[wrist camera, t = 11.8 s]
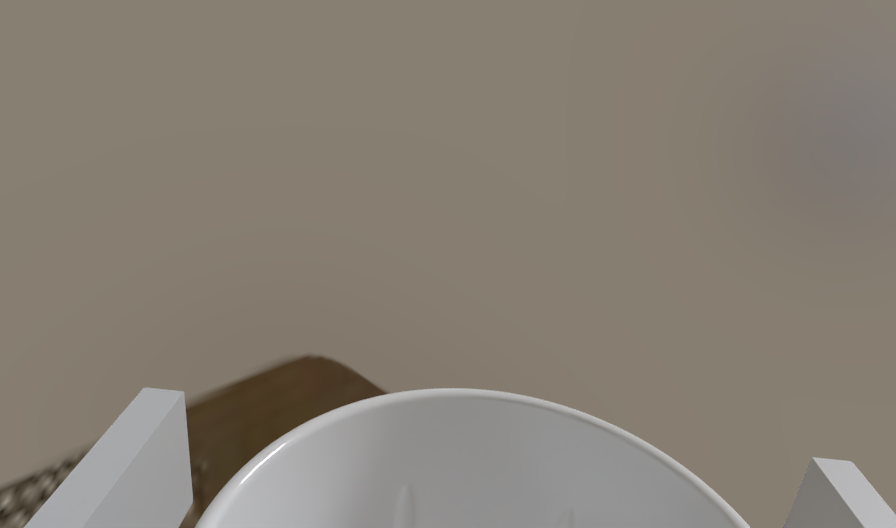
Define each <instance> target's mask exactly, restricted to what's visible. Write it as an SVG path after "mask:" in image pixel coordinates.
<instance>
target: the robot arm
mask: <svg viewBox="0 0 896 528" xmlns="http://www.w3.org/2000/svg"><path fill="white" fill-rule="evenodd" d="M192 503H193V494H192V482H191V470H190V458H189V446H188V434H187V422H186V410H185V398H184V392H183V391H173V390H164V389H155V388H143V389H142V391H141V392H140V393H139V394H138V395H137V397H136V398H135V399H134V400H133V401H132V402H131V403H130V405H129V406H128V407H127V408H126V409H125V410H124V412H123V413H122V414H121V415H120V416H119V417H118V419H117V420H116V421H115V422H114V423H113V424H112V426H111V427H110V428H109V429H108V430H107V431H106V433H105V434H104V435H103V436H102V437H101V438H100V440H99V441H98V442H97V443H96V444H95V445H94V447H93V448H92V449H91V450H90V451H89V452H88V453H87V455H86V456H85V457H84V458H83V459H82V460H81V462H80V463H79V464H78V465H77V466H76V467H75V469H74V470H73V471H72V472H71V473H70V474H69V476H68V477H67V478H66V479H65V480H64V481H63V483H62V484H61V485H60V486H59V487H58V488H57V490H56V491H55V492H54V493H53V494H52V495H51V497H50V498H49V499H48V500H47V501H46V502H45V504H44V505H43V506H42V507H41V508H40V509H39V511H38V512H37V513H36V514H35V515H34V516H33V518H32V519H31V520H30V521H29V522H28V523H27V525H26V526H25V527H24V528H179V526H180V524H181V522H182V520H183V519H184V517H185V515H186V513H187V512H188V510H189V508H190V506H191V505H192ZM783 528H896V515H895V513H894V512H893V511H892V510H891V509H890V507H889V506H888V505H887V504H886V503H885V501H884V500H883V499H882V498H881V497H880V495H879V494H878V493H877V492H876V490H875V489H874V488H873V487H872V485H871V484H870V483H869V482H868V481H867V479H866V478H865V477H864V476H863V475H862V473H861V472H860V471H859V470H858V469H857V467H856V466H855V465H854V464H853V462H852V461H843V460H834V459H824V458H814V457H812V459H811V461H810V463H809V466H808V468H807V471H806V473H805V476H804V478H803V481H802V483H801V485H800V488H799V490H798V493H797V496H796V498H795V500H794V503H793V505H792V507H791V510H790V512H789V515H788V517H787V519H786V522H785V524H784V527H783Z"/></svg>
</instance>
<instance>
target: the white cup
mask: <svg viewBox="0 0 896 528" xmlns="http://www.w3.org/2000/svg"><path fill="white" fill-rule="evenodd" d="M195 528H751V527H750V526H749V525H748V524H747V523H746V522H745V521H744V520H743V518H742V517H741V516H740V515H739V514H738V513H737V512H736V511H735V510H734V509H733V508H732V507H731V506H730V505H729V504H728V503H727V502H726V501H725V500H724V499H723V498H721V497H720V496H719V495H718V494H717V493H716V492H715V491H714V490H712V489H711V488H710V487H709V486H708V485H707V484H706V483H704V482H703V481H702V480H701V479H699V478H698V477H697V476H696V475H694V474H693V473H692V472H690V471H689V470H688V469H686V468H685V467H684V466H682V465H681V464H680V463H678V462H677V461H675V460H674V459H672V458H671V457H670V456H668V455H667V454H665V453H663V452H662V451H660V450H659V449H657V448H655V447H654V446H652V445H650V444H649V443H647V442H645V441H644V440H642V439H640V438H638V437H636V436H634V435H633V434H631V433H629V432H627V431H625V430H622V429H621V428H619V427H616V426H614V425H612V424H610V423H608V422H606V421H603V420H601V419H599V418H596V417H594V416H592V415H589V414H586V413H584V412H581V411H578V410H575V409H573V408H570V407H566V406H563V405H560V404H557V403H553V402H549V401H546V400H542V399H538V398H534V397H529V396H524V395H519V394H514V393H508V392H501V391H492V390H483V389H466V388H437V389H422V390H412V391H404V392H398V393H392V394H386V395H381V396H377V397H373V398H369V399H365V400H361V401H358V402H355V403H351V404H348V405H345V406H343V407H340V408H337V409H334V410H332V411H329V412H327V413H325V414H322V415H320V416H318V417H316V418H314V419H312V420H310V421H308V422H306V423H304V424H302V425H300V426H298V427H296V428H295V429H293V430H291V431H290V432H288V433H286V434H285V435H283V436H282V437H280V438H279V439H277V440H276V441H274V442H273V443H271V444H270V445H269V446H267V447H266V448H265V449H263V450H262V451H261V452H259V453H258V454H257V455H256V456H255V457H253V458H252V459H251V460H250V461H249V462H248V463H247V464H246V465H244V466H243V467H242V468H241V469H240V470H239V471H238V472H237V473H236V474H235V475H234V476H233V477H232V478H231V479H230V480H229V482H228V483H227V484H226V485H225V486H224V487H223V488H222V490H221V491H220V492H219V493H218V494H217V496H216V497H215V498H214V499H213V501H212V502H211V503H210V505H209V506H208V508H207V509H206V510H205V512H204V513H203V515H202V516H201V518H200V520H199V521H198V523H197V525H196V526H195Z"/></svg>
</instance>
